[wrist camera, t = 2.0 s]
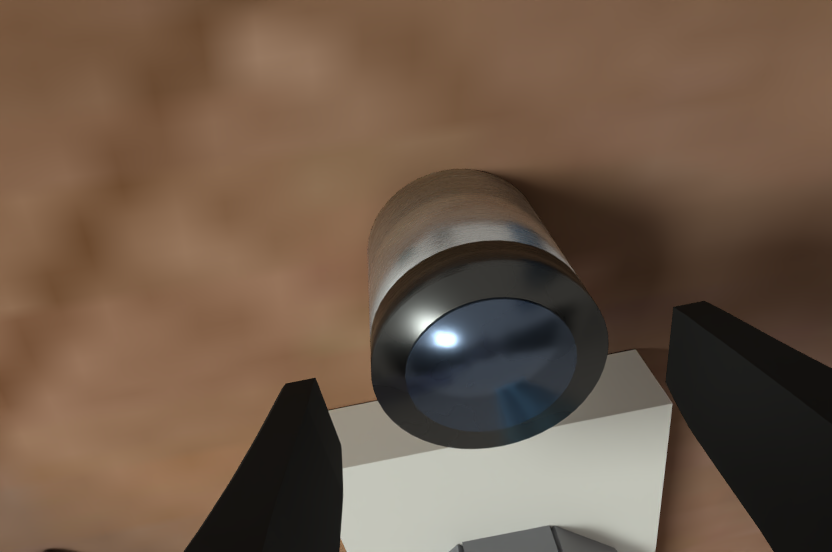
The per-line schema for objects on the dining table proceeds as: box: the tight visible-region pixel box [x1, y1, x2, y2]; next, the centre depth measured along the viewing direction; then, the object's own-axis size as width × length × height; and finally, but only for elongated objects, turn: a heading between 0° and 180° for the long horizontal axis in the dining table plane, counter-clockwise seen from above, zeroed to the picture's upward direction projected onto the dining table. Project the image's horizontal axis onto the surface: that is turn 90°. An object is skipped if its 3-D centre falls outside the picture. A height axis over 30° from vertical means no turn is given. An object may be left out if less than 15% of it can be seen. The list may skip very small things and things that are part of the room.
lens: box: [367, 169, 608, 449], centre depth 13 cm, size 5×5×5 cm
